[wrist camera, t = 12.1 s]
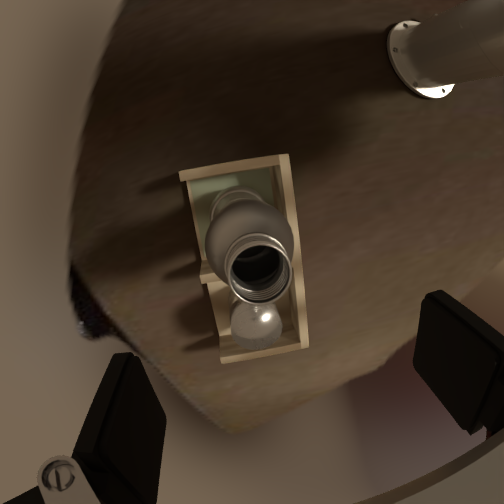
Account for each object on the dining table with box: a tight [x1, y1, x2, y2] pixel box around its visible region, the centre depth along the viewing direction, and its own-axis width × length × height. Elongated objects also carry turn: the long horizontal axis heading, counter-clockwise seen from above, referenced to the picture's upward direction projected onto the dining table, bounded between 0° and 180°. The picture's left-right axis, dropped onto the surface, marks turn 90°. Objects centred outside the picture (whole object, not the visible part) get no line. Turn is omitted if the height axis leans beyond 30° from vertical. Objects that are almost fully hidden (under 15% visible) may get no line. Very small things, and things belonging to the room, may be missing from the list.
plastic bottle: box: [205, 186, 294, 306], centre depth 26 cm, size 6×7×20 cm
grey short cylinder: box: [228, 290, 282, 350], centre depth 35 cm, size 6×6×7 cm
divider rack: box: [179, 154, 309, 364], centre depth 35 cm, size 23×11×6 cm, turn 9°
